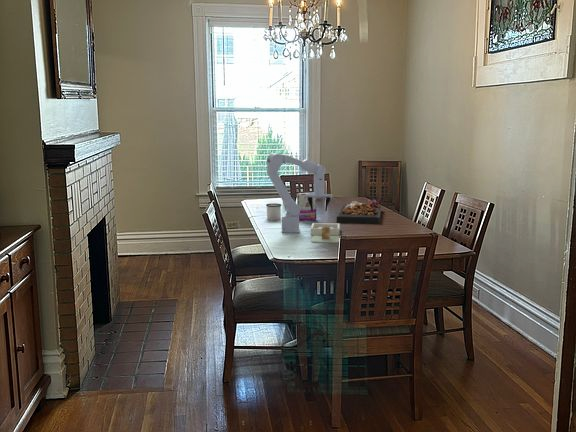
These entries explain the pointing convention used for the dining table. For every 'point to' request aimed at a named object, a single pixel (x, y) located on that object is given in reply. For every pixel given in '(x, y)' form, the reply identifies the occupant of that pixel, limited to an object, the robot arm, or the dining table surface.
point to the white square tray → (317, 227)
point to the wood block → (325, 232)
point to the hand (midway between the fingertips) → (319, 211)
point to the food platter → (360, 213)
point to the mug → (273, 211)
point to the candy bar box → (306, 207)
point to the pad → (319, 239)
